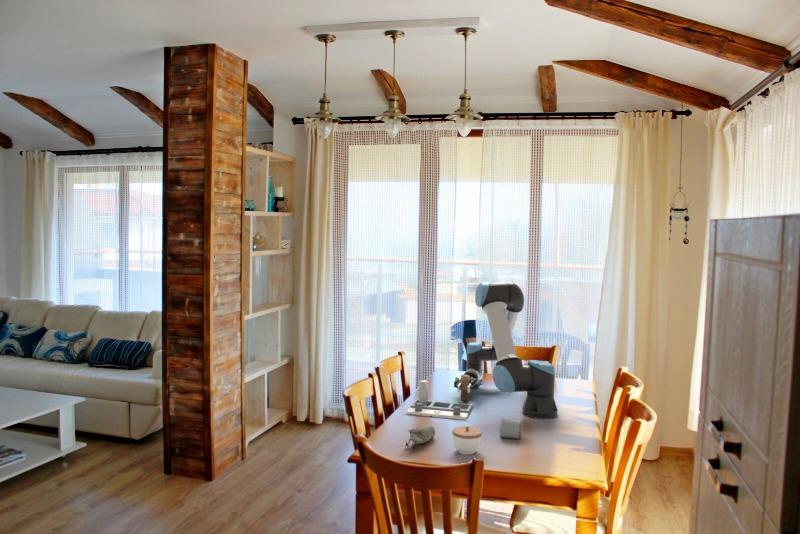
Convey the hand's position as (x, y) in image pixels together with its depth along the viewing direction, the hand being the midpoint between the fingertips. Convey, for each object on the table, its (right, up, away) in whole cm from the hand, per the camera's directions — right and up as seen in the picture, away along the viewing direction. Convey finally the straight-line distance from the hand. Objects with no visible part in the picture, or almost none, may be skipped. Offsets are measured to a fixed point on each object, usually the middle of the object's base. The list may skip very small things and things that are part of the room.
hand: (463, 389), depth 274 cm
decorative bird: (-21, -11, -48) cm, 54 cm away
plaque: (-13, -8, -13) cm, 20 cm away
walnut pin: (+1, -7, +6) cm, 9 cm away
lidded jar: (-5, -11, -56) cm, 57 cm away
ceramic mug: (+15, -11, -39) cm, 43 cm away
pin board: (-10, -8, -5) cm, 14 cm away
